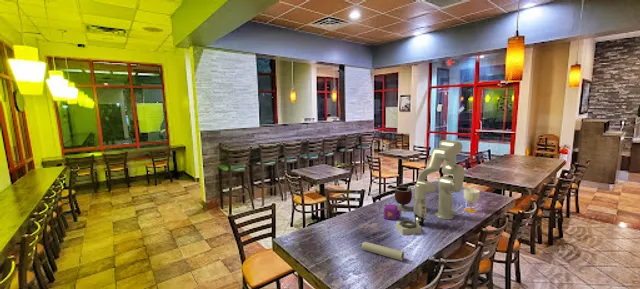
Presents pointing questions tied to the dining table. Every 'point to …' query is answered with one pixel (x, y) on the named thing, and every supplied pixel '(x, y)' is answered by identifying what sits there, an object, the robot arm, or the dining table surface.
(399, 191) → the mate gourd
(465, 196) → the cup
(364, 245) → the tube
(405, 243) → the dining table surface
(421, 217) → the lens
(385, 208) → the toy camera
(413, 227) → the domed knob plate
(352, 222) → the dining table surface
